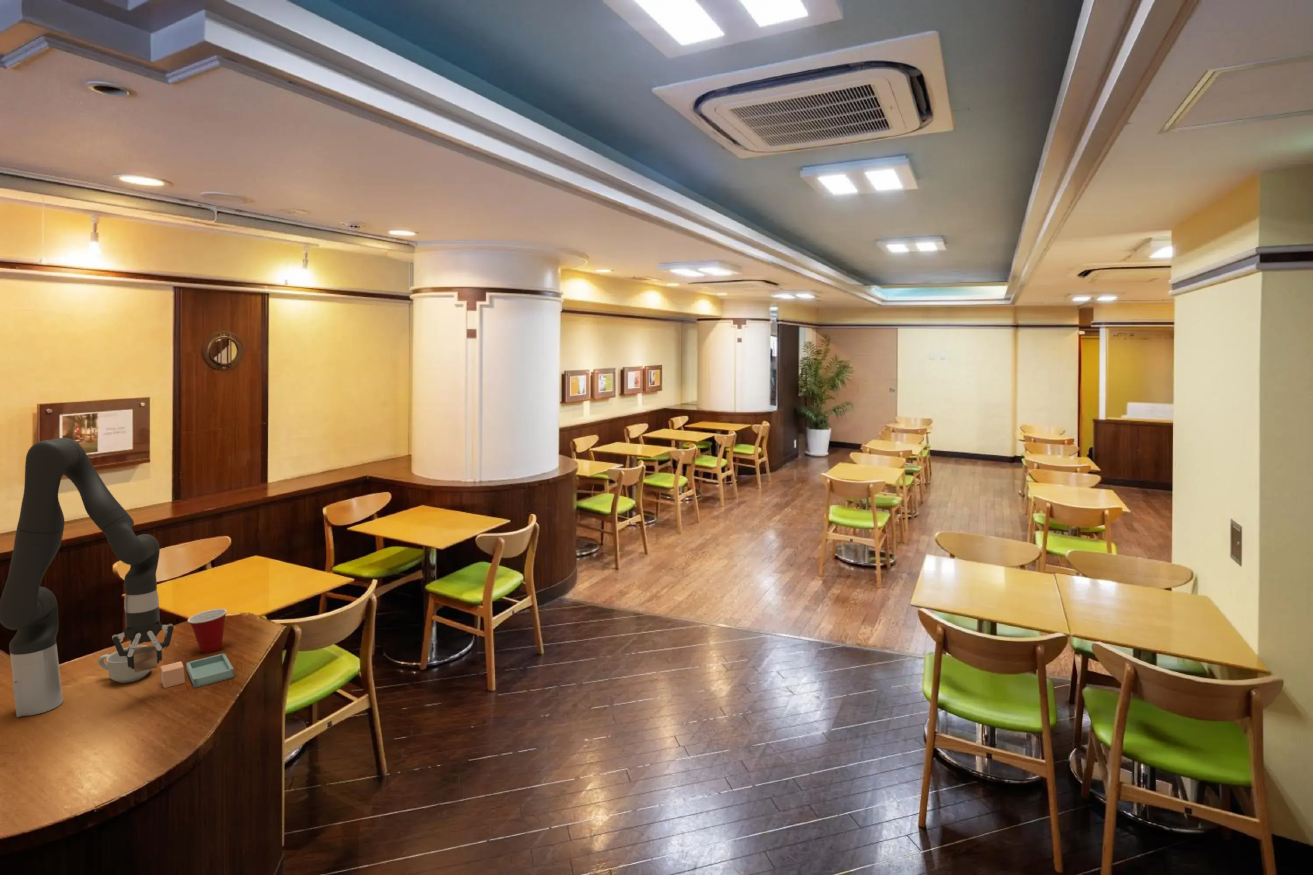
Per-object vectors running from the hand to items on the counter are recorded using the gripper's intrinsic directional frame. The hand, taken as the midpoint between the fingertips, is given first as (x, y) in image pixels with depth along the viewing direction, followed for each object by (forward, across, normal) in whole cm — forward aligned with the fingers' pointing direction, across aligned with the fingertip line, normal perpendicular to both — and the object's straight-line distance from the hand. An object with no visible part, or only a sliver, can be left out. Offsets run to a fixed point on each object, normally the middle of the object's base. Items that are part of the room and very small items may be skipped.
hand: (145, 664), depth 186 cm
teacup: (+10, -3, +18) cm, 21 cm away
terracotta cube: (+9, +7, +6) cm, 13 cm away
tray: (+9, +16, +4) cm, 19 cm away
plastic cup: (+10, +19, +26) cm, 33 cm away
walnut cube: (+1, 0, 0) cm, 1 cm away
